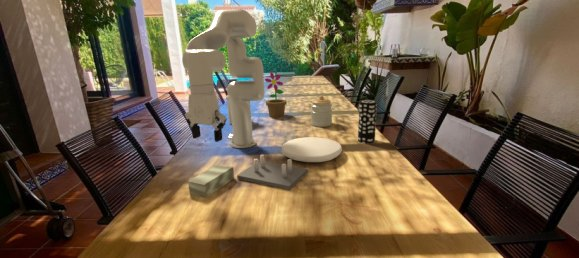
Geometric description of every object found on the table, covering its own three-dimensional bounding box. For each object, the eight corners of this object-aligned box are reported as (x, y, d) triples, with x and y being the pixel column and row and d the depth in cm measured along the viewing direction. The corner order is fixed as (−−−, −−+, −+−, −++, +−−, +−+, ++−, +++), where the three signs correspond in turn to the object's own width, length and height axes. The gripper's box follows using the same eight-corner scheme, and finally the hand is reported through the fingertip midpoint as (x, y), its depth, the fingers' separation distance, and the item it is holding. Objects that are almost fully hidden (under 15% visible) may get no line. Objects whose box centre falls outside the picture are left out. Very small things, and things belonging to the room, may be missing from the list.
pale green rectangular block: (205, 198, 101) (203, 184, 100) (189, 194, 104) (187, 181, 103) (234, 179, 115) (233, 166, 114) (219, 175, 118) (218, 164, 117)
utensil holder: (232, 119, 202) (230, 93, 197) (254, 119, 200) (252, 93, 195) (225, 125, 188) (222, 97, 183) (248, 125, 186) (246, 97, 181)
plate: (288, 134, 151) (343, 136, 146) (288, 147, 152) (342, 149, 147) (274, 147, 124) (340, 151, 119) (274, 163, 125) (340, 167, 120)
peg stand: (237, 178, 114) (236, 162, 112) (260, 163, 128) (259, 149, 126) (289, 190, 104) (289, 172, 103) (308, 172, 118) (307, 156, 116)
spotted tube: (371, 144, 147) (374, 103, 141) (355, 141, 151) (356, 102, 145) (377, 139, 153) (379, 100, 148) (361, 137, 158) (362, 99, 152)
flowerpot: (264, 118, 202) (261, 72, 194) (268, 113, 216) (266, 70, 207) (285, 118, 200) (283, 72, 191) (288, 113, 213) (287, 70, 205)
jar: (317, 120, 193) (317, 93, 188) (335, 123, 185) (336, 94, 181) (306, 125, 183) (306, 96, 178) (325, 128, 175) (325, 98, 170)
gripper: (174, 90, 100) (180, 139, 105) (215, 92, 93) (220, 145, 97) (190, 86, 107) (196, 133, 111) (230, 89, 99) (234, 138, 104)
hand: (207, 139), depth 104 cm, fingers open, 9 cm apart
